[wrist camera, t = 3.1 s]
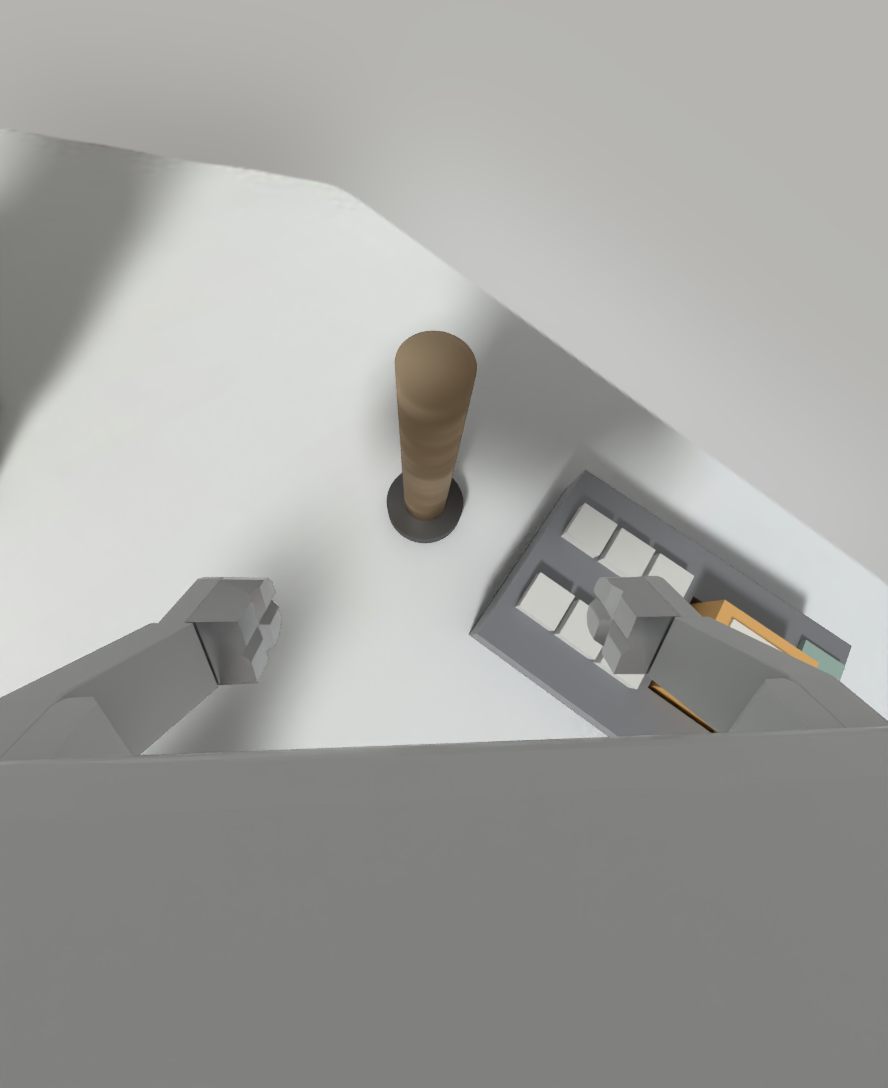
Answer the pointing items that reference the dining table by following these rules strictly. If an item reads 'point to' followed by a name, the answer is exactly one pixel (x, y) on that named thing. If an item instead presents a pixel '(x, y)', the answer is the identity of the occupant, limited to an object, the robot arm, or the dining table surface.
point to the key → (744, 624)
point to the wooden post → (430, 433)
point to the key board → (568, 588)
